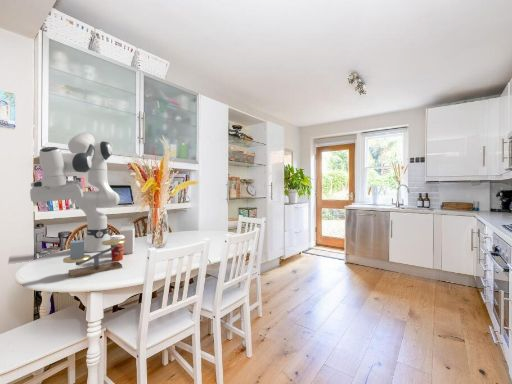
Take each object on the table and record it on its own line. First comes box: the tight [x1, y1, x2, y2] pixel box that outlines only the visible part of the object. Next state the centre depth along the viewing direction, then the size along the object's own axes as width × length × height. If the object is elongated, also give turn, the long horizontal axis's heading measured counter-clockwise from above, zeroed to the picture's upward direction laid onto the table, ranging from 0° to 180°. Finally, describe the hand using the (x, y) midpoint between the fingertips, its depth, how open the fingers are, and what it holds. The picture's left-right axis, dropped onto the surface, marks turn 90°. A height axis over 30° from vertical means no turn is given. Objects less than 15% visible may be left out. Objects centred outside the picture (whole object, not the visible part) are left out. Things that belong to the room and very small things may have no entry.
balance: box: [62, 239, 126, 279], centre depth 127 cm, size 11×27×14 cm, turn 133°
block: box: [69, 239, 85, 260], centre depth 121 cm, size 5×5×8 cm
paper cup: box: [110, 234, 125, 262], centre depth 145 cm, size 8×8×14 cm
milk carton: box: [119, 222, 136, 255], centre depth 160 cm, size 7×7×19 cm
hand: (60, 209), depth 123 cm, fingers open, 8 cm apart
